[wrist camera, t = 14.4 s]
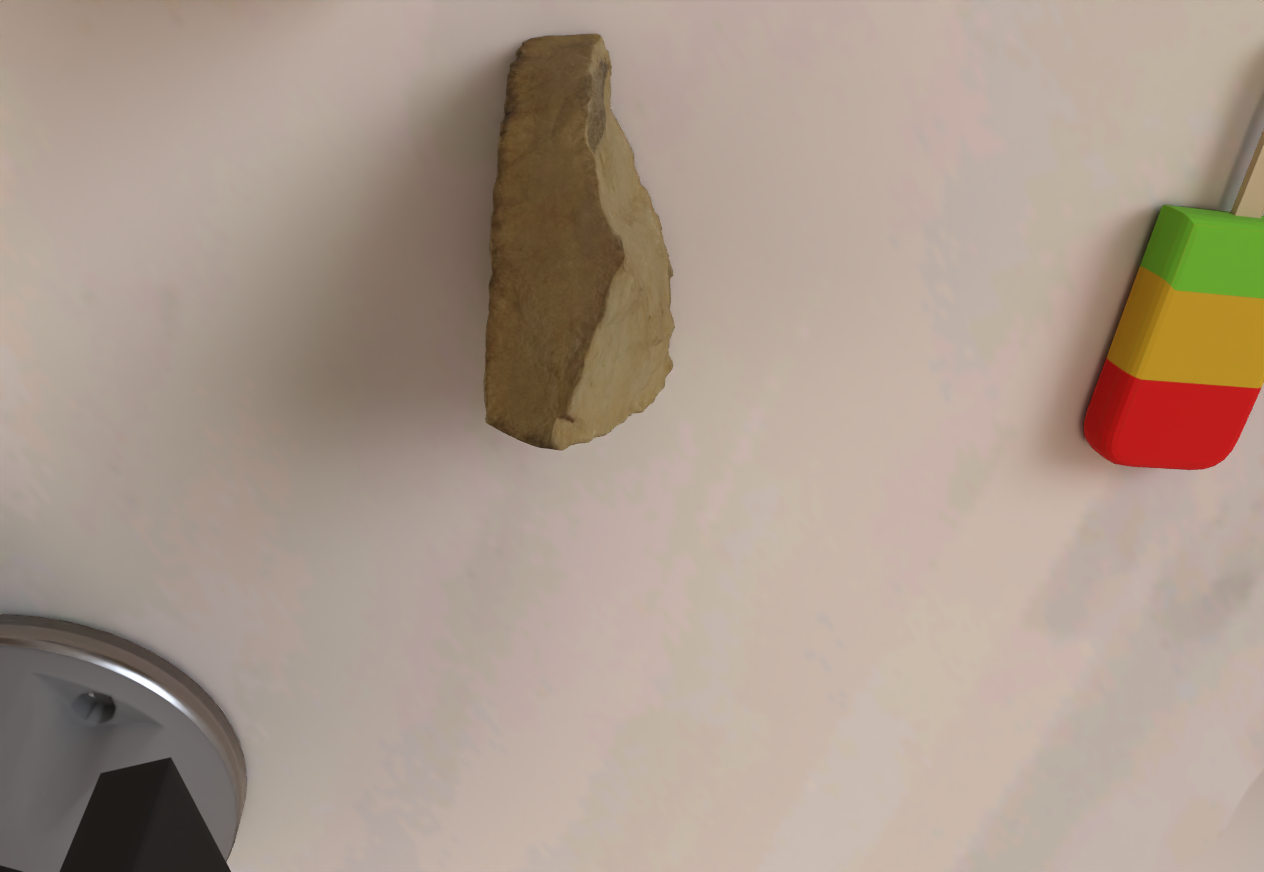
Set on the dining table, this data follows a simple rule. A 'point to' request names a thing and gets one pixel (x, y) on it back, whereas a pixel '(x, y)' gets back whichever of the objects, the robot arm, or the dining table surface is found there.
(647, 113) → the dining table surface
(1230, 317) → the popsicle
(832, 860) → the dining table surface
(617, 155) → the rock
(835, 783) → the dining table surface
